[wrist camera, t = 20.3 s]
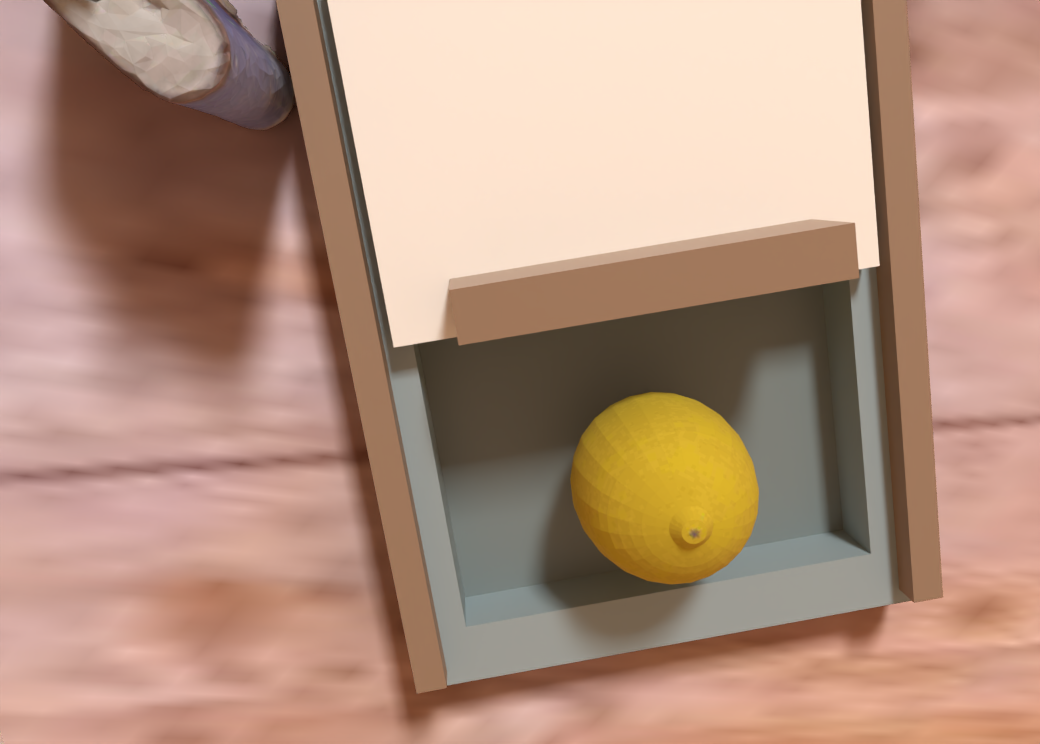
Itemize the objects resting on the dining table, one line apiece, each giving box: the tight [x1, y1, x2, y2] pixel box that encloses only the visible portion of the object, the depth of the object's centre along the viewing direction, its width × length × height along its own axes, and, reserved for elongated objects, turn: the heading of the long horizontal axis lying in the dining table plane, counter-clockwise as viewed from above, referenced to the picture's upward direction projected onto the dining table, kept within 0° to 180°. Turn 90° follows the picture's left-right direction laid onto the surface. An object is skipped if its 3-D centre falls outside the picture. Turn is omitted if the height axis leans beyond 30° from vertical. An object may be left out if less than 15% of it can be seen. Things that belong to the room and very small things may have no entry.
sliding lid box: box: [276, 0, 943, 694], centre depth 29 cm, size 18×24×4 cm
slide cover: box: [327, 0, 880, 347], centre depth 24 cm, size 15×11×4 cm
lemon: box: [570, 392, 759, 584], centre depth 27 cm, size 6×6×8 cm
